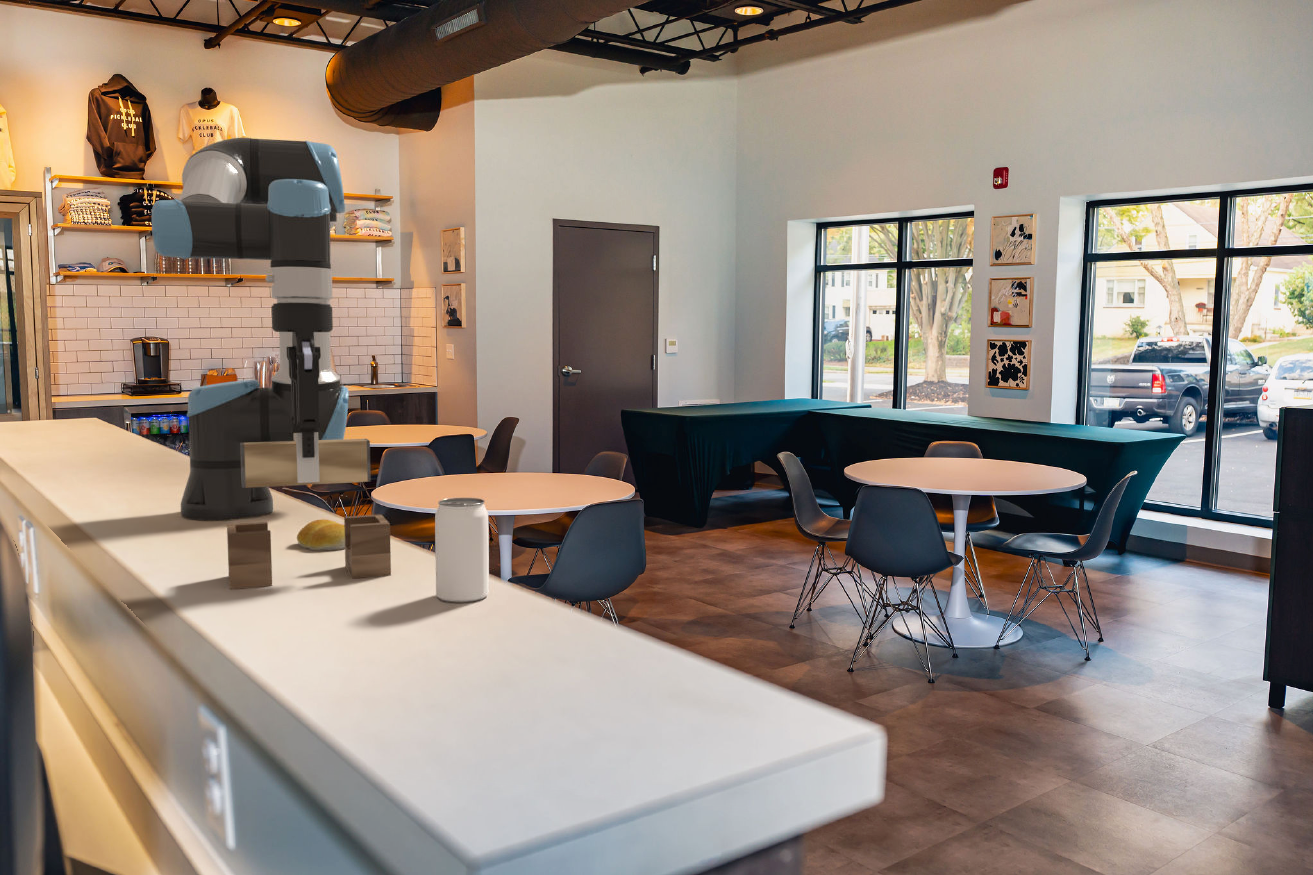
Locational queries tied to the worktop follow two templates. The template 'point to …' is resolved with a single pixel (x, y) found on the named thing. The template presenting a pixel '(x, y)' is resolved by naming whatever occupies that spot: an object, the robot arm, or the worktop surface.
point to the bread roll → (322, 535)
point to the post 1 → (249, 555)
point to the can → (462, 550)
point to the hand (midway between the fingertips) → (307, 479)
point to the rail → (279, 462)
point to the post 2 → (367, 546)
